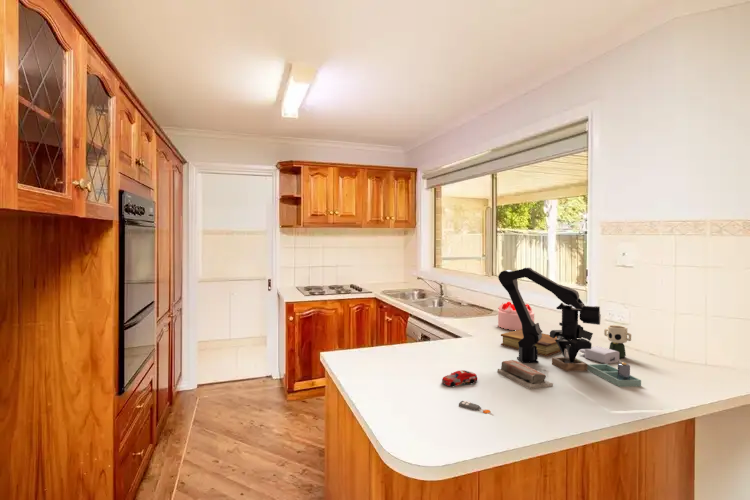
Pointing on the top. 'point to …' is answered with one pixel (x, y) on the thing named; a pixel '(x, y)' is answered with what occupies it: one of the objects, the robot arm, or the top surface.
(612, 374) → the trough tray
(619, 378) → the dark cell
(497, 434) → the top surface
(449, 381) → the race car
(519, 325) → the cake
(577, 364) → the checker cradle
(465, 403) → the key chain
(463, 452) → the top surface
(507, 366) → the packaged product
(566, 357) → the steel cell
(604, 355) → the charger
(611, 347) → the mug head figurine
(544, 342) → the diary
